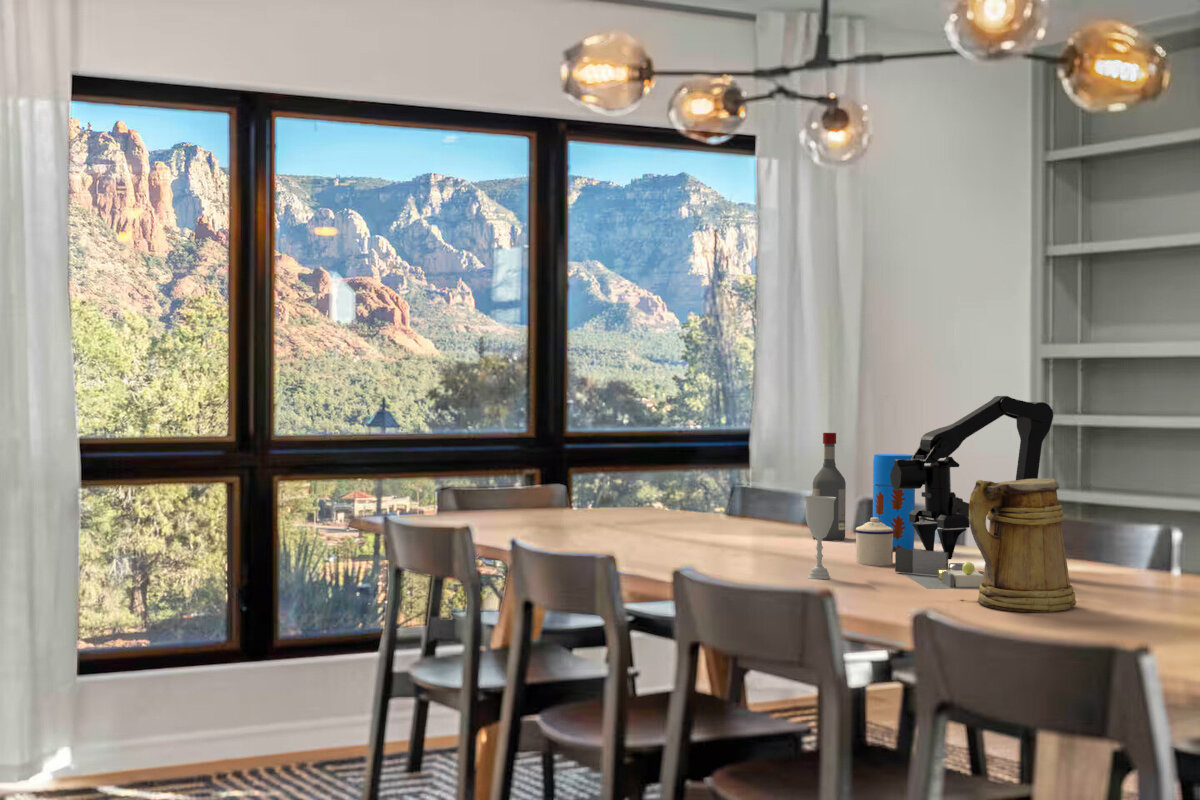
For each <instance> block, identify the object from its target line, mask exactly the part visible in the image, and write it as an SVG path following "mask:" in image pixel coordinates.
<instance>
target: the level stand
mask: <svg viewBox="0 0 1200 800" xmlns="http://www.w3.org/2000/svg"><path fill="white" fill-rule="evenodd" d="M977 572H978V573H980V574H982V575H984V570H983V571H982V570H978V571H977ZM899 573H900V574H902V575H904V576H905V577H906V578H909V579H911V581H913V582H916V583H917V584H919V585H920V586H922V587H924V588H925V589H929V590H930V589H932V590H937V589H938V590H939V589H940V590H942V589H943V590H948V589H949V590H959V589H960V590H979V587H955V586H954V575H953V573H949V572H947V571H942V580H939V579H938V575H927V574H916V573H904V572H899Z"/></svg>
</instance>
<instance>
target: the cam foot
mask: <svg viewBox="0 0 1200 800" xmlns="http://www.w3.org/2000/svg"><path fill="white" fill-rule="evenodd" d="M963 563H964V562H963ZM975 569H976V568H975V564H974V563H972V562H971V561H966V562H965V563H964V564H963V566H962V570H946V571H947V572H949V573H953V575H954V586H955V587H979V586H980V584H981V583H982V582H983V578H984V575H982V574H980V573H978V571H976V570H975Z"/></svg>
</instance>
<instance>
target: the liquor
mask: <svg viewBox="0 0 1200 800" xmlns="http://www.w3.org/2000/svg"><path fill="white" fill-rule="evenodd" d="M822 444H824V446H823V447H824V448H823V450H824V451H823V463H822V467H821V469H820V470H819V471H818V472H817V474H816V475H815V476H814V478H813V481H812V496H828V497H836V499H835V501H834V520H833V523H832V525H831V528H830V530H829V532H828V534H827V536H826V537H825V538H823V539H822V541H834V540H838V541H844V540H845V538H846V499H847V498H846V496H847V495H846V491H847V490H846V489H847V488H846V486H847V485H846V484H847V482H846V480H845V477H844V476H843V474H842V473H841V472H840V470H839V469H838V468H837V466H836V454H835V453H836V452H835V451H836V448H835V444H837V432H822ZM812 539H813V540H815V539H816V538H814V537H813V536H812ZM816 541H817V539H816Z"/></svg>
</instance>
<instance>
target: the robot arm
mask: <svg viewBox="0 0 1200 800" xmlns="http://www.w3.org/2000/svg"><path fill="white" fill-rule="evenodd" d="M1003 416H1006V417H1008V418H1011V419H1015V420H1016V429H1017V432H1018V436H1019V439H1020V444H1019V451H1018V459H1017V465H1016V466H1017V468H1016V475H1015V480H1024V479H1039V472H1040V466H1041V465H1040V463H1041V455H1042V448H1043V443H1044V440H1045V438H1046V436H1047V435H1048V434H1049V432H1050V430H1051V427H1052V423H1053V420H1054V410H1053V408H1052V407H1051V406H1050V405H1049V404H1048V403H1046V402H1043V401H1040V402H1039V401H1026V400H1021V399H1016V398H1013V397H1010V396H1008V395H996V396H994V397H993V398H991V399H990V400H989V401H988V402H986V403H984V404H983V405H981V406H980V407H978V408H976V409H975V410H973V411H971V412H970V413H968V414H966V415H965V416H963V417H961V418H960V419H958V420H957V421H955V422H953V423H952V424H948V425H946V426H943V427H942V426H941V427H939V428H935V429H933V430H931V431H929V432H925V433H924V434H923V435H922V436H921V437H920V442H919V446H918V447H917V449H916V451H915V452H914V454H912V455H913V457H912V458H911V460H902V459H895V460H894V466H893V467H892V470H891V473H890V480H891V484H892V486H893V488H894V489H895V490H900V489H915V490H916V489H917V490H919V489H921V488H922V487H923V486H924V491H921V497H923V498H924V503H925V504H924V507H925V508H924V509H923V508H920V509H919V508H918V509H915V510H912V511H911V512H910V513H909V522H913V523H915V524H912V526H914V528H915V532H916V534H917V535H918V537H919V539H920V541H921V543H922V545H923V547H924V550H927V551H935V550H934V549H935V538H936V531H937V535H938V538H939V540H940V543H941V547H942V552H948V560H952V559H953V556H954V552H955V549H956V545H957V542H958V538H959V537H960V535H962V534H963V533H964V532H966V531H967V529H968V528H970V523H969V502H966V501H964V499H963V498H962V497H958V496H956V493H955V492H952V486H951V485H952V484H951V481H952V480H951V479H952V478H951V468H959V467H960V463H958V462H957V461H956V460H955V459H954V458H953V456H951V455H952V454H953V453H955V451H957V450H958V449H959V448H960V446H962V444H963V442H964V441H965V440H966V439H968V438H969V437H971V436H972V435H974V434H975V433H977V432H978V431H980V430H982V429H983V428H985V427H986V426H988V425H991V424H992V423H994V422H995V421H996V420H998V419H999V418H1001V417H1003ZM942 459H943V460H942ZM925 464H926V465H925Z"/></svg>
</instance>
